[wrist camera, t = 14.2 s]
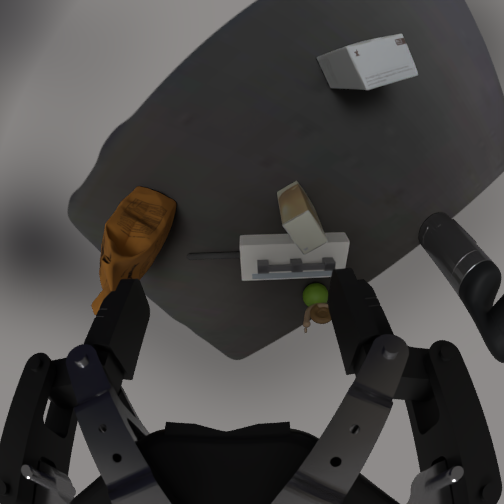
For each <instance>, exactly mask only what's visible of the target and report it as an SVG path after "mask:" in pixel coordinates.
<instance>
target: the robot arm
mask: <svg viewBox="0 0 504 504" xmlns="http://www.w3.org/2000/svg"><path fill="white" fill-rule="evenodd" d="M419 241H420V244H421V245H422V247H423V248H424V249H425V250H426V252H427V253H428V254H429V256H430V257H431V258H432V260H433V261H434V262H435V264H436V265H437V266H438V268H439V269H440V270H441V272H442V273H443V274H444V276H445V277H446V278H447V280H448V281H449V283H450V284H451V286H452V287H453V288H454V290H455V291H456V293H457V294H458V296H459V297H460V299H461V300H462V302H463V303H464V305H465V307H466V309H467V310H468V312H469V313H470V315H471V317H472V319H473V320H474V322H475V324H476V326H477V328H478V330H479V332H480V334H481V336H482V338H483V340H484V342H485V344H486V346H487V347H488V349H489V351H490V352H491V354H492V355H493V356H494V358H495V359H497V360H498V361H499V362H501V363H504V294H503V296H502V297H501V298H500V299H499V300H498V301H497V302H496V304H495V305H494V306H493V302H494V299H495V296H496V294H497V292H498V289H499V287H500V283H501V273H500V270H499V269H498V267H497V266H496V265H495V264H494V263H493V262H492V261H491V259H490V258H489V257H488V256H487V255H486V254H485V253H484V252H483V251H482V250H481V248H480V247H478V245H477V244H476V241H475V240H474V239H473V238H472V237H471V236H470V235H469V234H468V233H467V232H466V231H465V230H464V229H463V228H462V227H461V226H460V225H459V224H458V223H457V222H456V221H455V220H454V219H451V218H450V217H449V216H448V215H447V214H445V213H435V214H433V215H431V216H430V217H429V218H428V219H427V220H426V221H425V222H424V223H423V225H422V227H421V229H420V232H419ZM328 308H329V313H330V316H331V320H332V323H333V326H334V330H335V334H336V337H337V341H338V344H339V348H340V352H341V356H342V360H343V363H344V367H345V371H346V375H349V374H355V375H356V378H355V380H354V382H353V384H352V385H351V387H350V388H349V390H348V392H347V394H346V395H345V397H344V399H343V401H342V403H341V405H340V406H339V408H338V410H337V411H336V413H335V415H334V416H333V418H332V420H331V421H330V423H329V424H328V426H327V428H326V429H325V431H324V432H323V434H322V436H321V437H320V439H319V438H317V437H315V436H313V435H311V434H309V433H306V432H304V431H300V430H296V429H290V422H280V423H267V424H266V423H265V424H256V425H252V426H248V427H244V428H241V429H236V430H232V431H227V432H225V431H220V430H216V429H212V428H208V427H204V426H201V425H197V424H189V423H173V422H166V426H165V429H163V430H159V431H156V432H153V433H151V434H149V432H148V431H147V430H146V428H145V427H144V426H143V424H142V423H141V421H140V420H139V418H138V416H137V414H136V412H135V411H134V409H133V407H132V405H131V403H130V401H129V400H128V397H127V395H126V393H125V391H124V389H123V388H122V386H121V384H122V380H123V379H126V380H132V379H133V375H134V371H135V367H136V364H137V360H138V356H139V352H140V349H141V345H142V342H143V338H144V334H145V331H146V328H147V324H148V321H149V317H150V308H149V304H148V301H147V299H146V296H145V293H144V291H143V288H142V285H141V282H140V280H139V279H121V280H120V282H119V284H118V286H117V288H116V290H115V291H111V292H110V293H109V294H108V295H107V296H106V297H105V298H104V299H103V301H102V304H101V306H100V308H99V310H98V312H97V314H96V318H95V319H94V321H93V323H92V326H91V328H90V330H89V332H88V335H87V337H86V339H85V342H84V344H82V345H79V346H77V347H75V348H74V349H72V350H71V351H70V352H69V354H68V356H67V358H63V359H58V360H53V361H51V359H50V358H49V357H48V356H47V355H46V354H44V353H37V354H35V355H33V356H32V357H30V359H29V360H28V361H27V363H26V365H25V368H24V370H23V373H22V375H21V378H20V380H19V383H18V386H17V388H16V391H15V395H14V397H13V400H12V403H11V406H10V409H9V413H8V416H7V419H6V423H5V426H4V430H3V434H2V437H1V441H0V503H1V504H399V503H398V502H397V501H395V500H394V499H393V498H392V497H390V496H389V495H387V494H386V493H385V492H384V491H382V490H381V489H380V488H378V487H377V486H376V485H374V484H373V483H372V482H370V481H369V480H368V479H367V478H366V477H364V476H363V475H362V474H361V473H360V471H361V469H362V468H363V466H364V464H365V462H366V460H367V458H368V457H369V455H370V453H371V451H372V449H373V447H374V445H375V443H376V441H377V439H378V437H379V435H380V433H381V431H382V428H383V426H384V424H385V422H386V420H387V418H388V415H389V413H390V410H391V408H392V405H393V402H392V399H401V400H405V403H406V407H407V410H408V414H409V419H410V423H411V427H412V432H413V436H414V441H415V446H416V450H417V456H418V461H419V467H420V473H419V474H418V475H417V476H416V477H415V479H414V480H413V482H412V485H411V495H410V499H409V501H408V503H407V504H497V502H498V500H499V498H500V496H501V492H502V482H501V477H500V472H499V467H498V463H497V459H496V455H495V451H494V447H493V443H492V439H491V436H490V432H489V429H488V426H487V422H486V419H485V416H484V413H483V410H482V407H481V404H480V401H479V399H478V396H477V393H476V390H475V388H474V385H473V383H472V380H471V378H470V375H469V372H468V370H467V368H466V365H465V363H464V361H463V358H462V356H461V354H460V352H459V350H458V348H457V347H456V346H455V345H454V344H452V343H451V342H448V341H445V340H439V341H437V342H435V343H433V344H432V346H431V347H430V349H423V348H414V347H409V346H407V344H406V343H405V341H404V340H403V339H401V338H400V337H398V336H395V335H394V334H393V332H392V329H391V327H390V325H389V323H388V320H387V318H386V316H385V314H384V311H383V309H382V307H381V306H380V303H379V301H378V299H377V296H376V294H375V292H374V290H373V288H372V287H371V286H370V285H369V284H368V283H367V282H366V281H365V280H364V279H362V280H357V279H356V276H355V274H354V272H353V270H352V269H351V268H344V269H333V271H332V275H331V282H330V288H329V295H328ZM48 399H49V400H51V402H50V406H49V409H48V413H47V417H46V421H45V424H44V421H43V415H44V411H45V408H46V404H47V401H48ZM77 421H78V422H79V425H80V428H81V430H82V433H83V435H84V438H85V440H86V443H87V445H88V447H89V450H90V452H91V455H92V457H93V459H94V461H95V463H96V465H97V468H98V470H99V472H100V474H101V475H100V476H99V477H98V478H97V479H96V480H95V481H94V482H93V483H91V484H90V485H89V486H88V487H87V488H85V489H84V490H83V491H82V492H81V493H80V494H78V495H77V496H76V497H75V498H74V495H75V493H76V491H75V488H74V487H73V486H72V483H71V480H70V479H69V477H68V471H69V464H70V457H71V452H72V446H73V441H74V435H75V431H76V426H77Z"/></svg>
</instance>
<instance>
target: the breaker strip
mask: <svg viewBox="0 0 504 504" xmlns="http://www.w3.org/2000/svg"><path fill="white" fill-rule="evenodd" d="M325 235H326V237H327V240H328V242H327V243H325V244H323V245H322V246H320V247H318V248H316V249H315V250H313V251H311V252H309V253H307V254H305V255H303V254H302V252H301V251H300V249H299V248H298V247H297V245H296V244H295V243H294V241H293V240H292V238H291V237H290V236H289V234H262V235H240V252H220V253H192V254H188V255H187V258H188V259H189V260H197V259H227V258H240V259H241V272H242V281H248V280H276V279H299V278H320V277H331V275H332V271H324V270H303V272H291V271H279V272H269V273H266V274H258V270H257V260H268V262H269V265H277V264H290V259H298V258H301V260H302V262H303V263H322V258H323V257H333V259H334V260H335V262H336V266H335V269H344V268H345V267H346V261H347V256H348V250H349V244H350V241H349V239H348V237H347V236H346V234H345V232H331V233H325Z"/></svg>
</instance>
